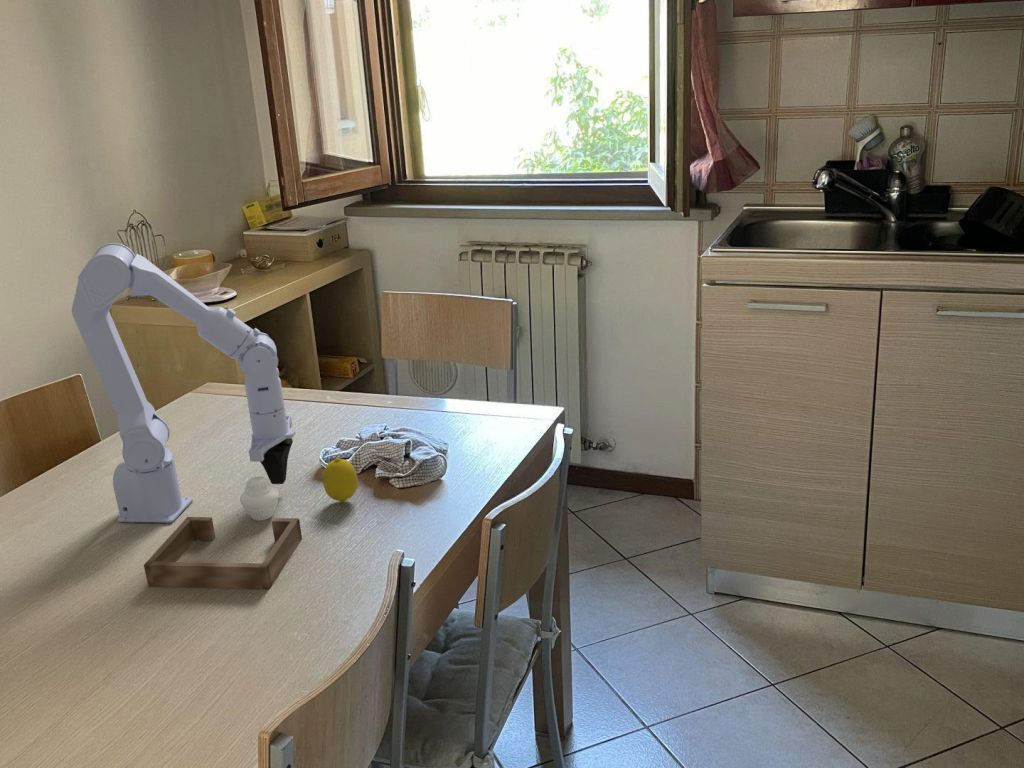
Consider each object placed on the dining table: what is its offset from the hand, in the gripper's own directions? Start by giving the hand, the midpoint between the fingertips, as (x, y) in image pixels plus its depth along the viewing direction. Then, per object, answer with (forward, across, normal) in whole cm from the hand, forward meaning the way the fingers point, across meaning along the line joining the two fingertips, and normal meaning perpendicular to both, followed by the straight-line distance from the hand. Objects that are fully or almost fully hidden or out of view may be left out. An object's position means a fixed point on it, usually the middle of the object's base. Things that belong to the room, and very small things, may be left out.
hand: (278, 482), depth 158 cm
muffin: (+2, -8, 0) cm, 8 cm away
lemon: (+2, -3, -12) cm, 12 cm away
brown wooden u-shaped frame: (+2, -22, 0) cm, 22 cm away
